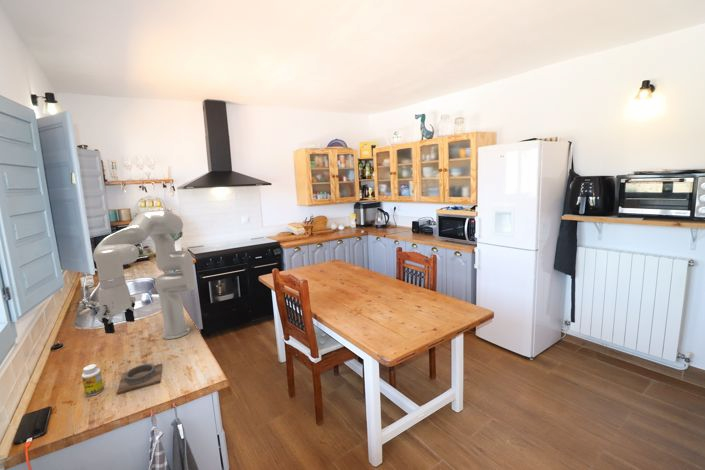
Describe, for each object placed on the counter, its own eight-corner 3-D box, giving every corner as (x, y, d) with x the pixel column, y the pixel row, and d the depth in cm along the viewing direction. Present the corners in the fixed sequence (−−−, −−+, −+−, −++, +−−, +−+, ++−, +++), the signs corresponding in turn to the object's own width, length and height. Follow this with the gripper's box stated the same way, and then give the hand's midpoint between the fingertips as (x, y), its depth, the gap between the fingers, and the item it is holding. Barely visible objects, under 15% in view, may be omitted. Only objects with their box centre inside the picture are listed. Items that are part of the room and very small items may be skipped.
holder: (123, 375, 137) (121, 367, 136) (162, 365, 143) (161, 358, 142) (117, 394, 124) (115, 386, 124) (160, 382, 130) (159, 374, 130)
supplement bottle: (81, 396, 125) (76, 370, 123) (95, 386, 130) (90, 362, 128) (94, 397, 124) (89, 371, 122) (107, 387, 129) (102, 363, 127)
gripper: (121, 275, 131) (128, 317, 134) (82, 290, 114) (91, 338, 117) (139, 275, 130) (146, 317, 133) (102, 290, 113) (111, 338, 116)
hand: (120, 327), depth 125 cm, fingers open, 9 cm apart
